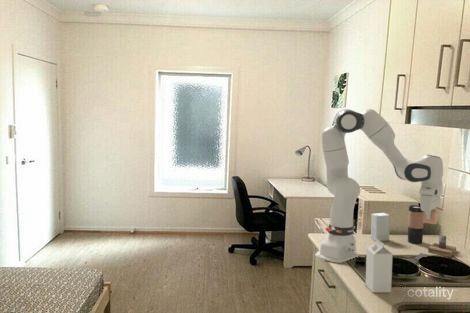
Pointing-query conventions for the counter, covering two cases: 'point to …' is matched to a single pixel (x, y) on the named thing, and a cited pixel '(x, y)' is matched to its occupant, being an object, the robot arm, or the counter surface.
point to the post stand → (442, 247)
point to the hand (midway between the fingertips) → (430, 217)
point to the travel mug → (415, 225)
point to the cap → (433, 217)
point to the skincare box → (380, 226)
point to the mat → (421, 256)
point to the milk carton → (378, 268)
